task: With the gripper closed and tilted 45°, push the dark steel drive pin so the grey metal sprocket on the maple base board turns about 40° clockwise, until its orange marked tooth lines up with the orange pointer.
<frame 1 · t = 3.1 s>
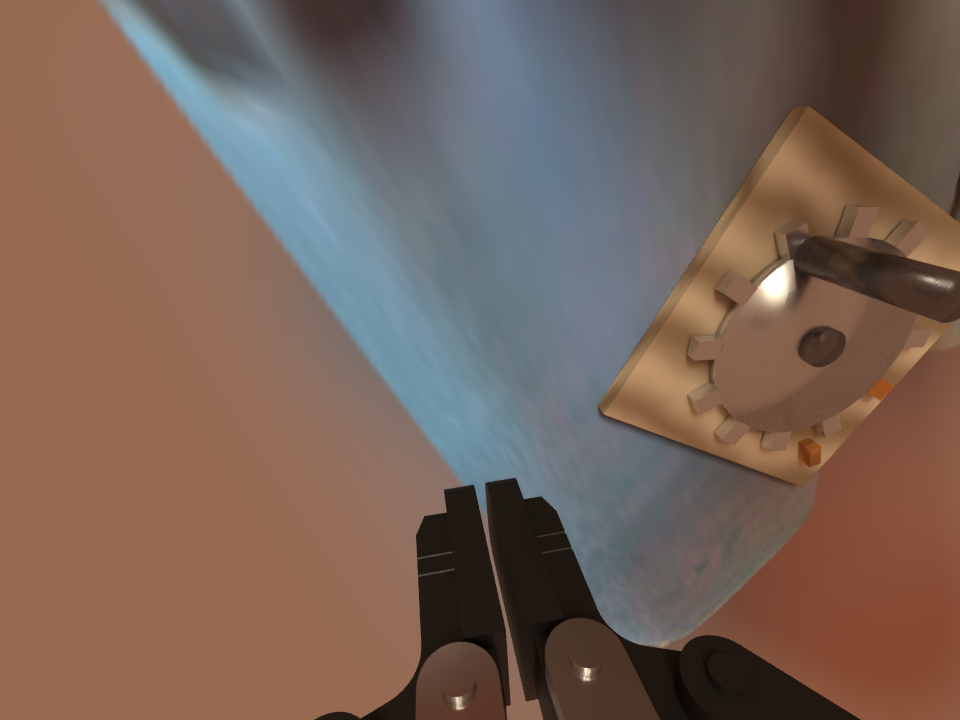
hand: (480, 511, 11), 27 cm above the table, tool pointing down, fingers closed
sprocket: (866, 369, 37), point 8 cm above the table, hinge at 0.0°
base board: (792, 331, 44), on the table
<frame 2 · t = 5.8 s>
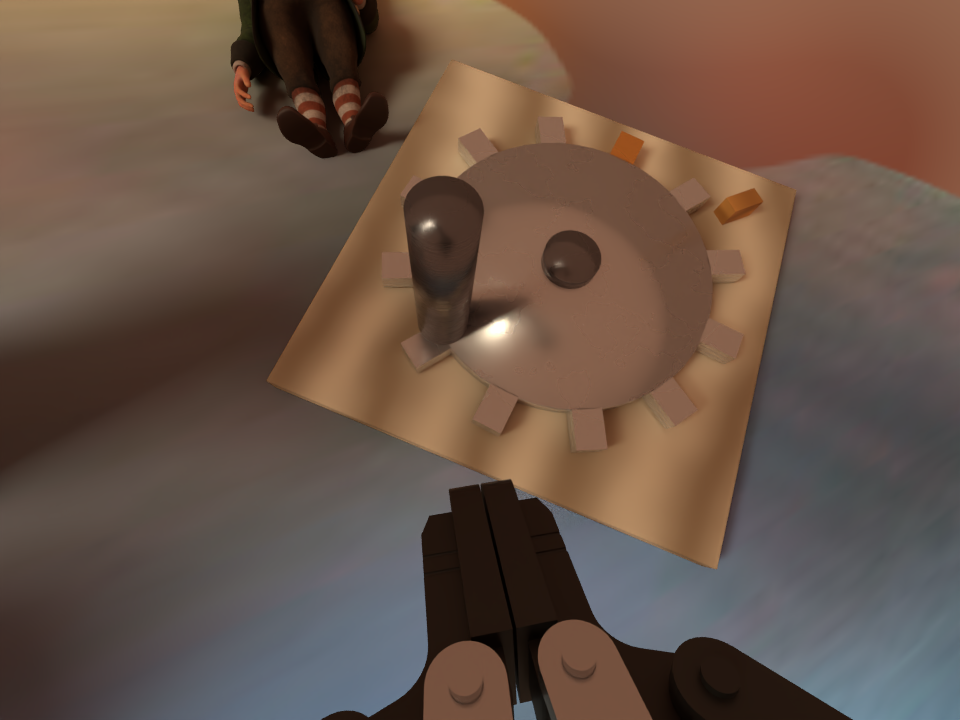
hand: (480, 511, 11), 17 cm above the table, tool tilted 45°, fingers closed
sprocket: (592, 218, 25), point 8 cm above the table, hinge at 0.0°
leprechaun: (303, 45, 38), on the table
base board: (557, 284, 32), on the table
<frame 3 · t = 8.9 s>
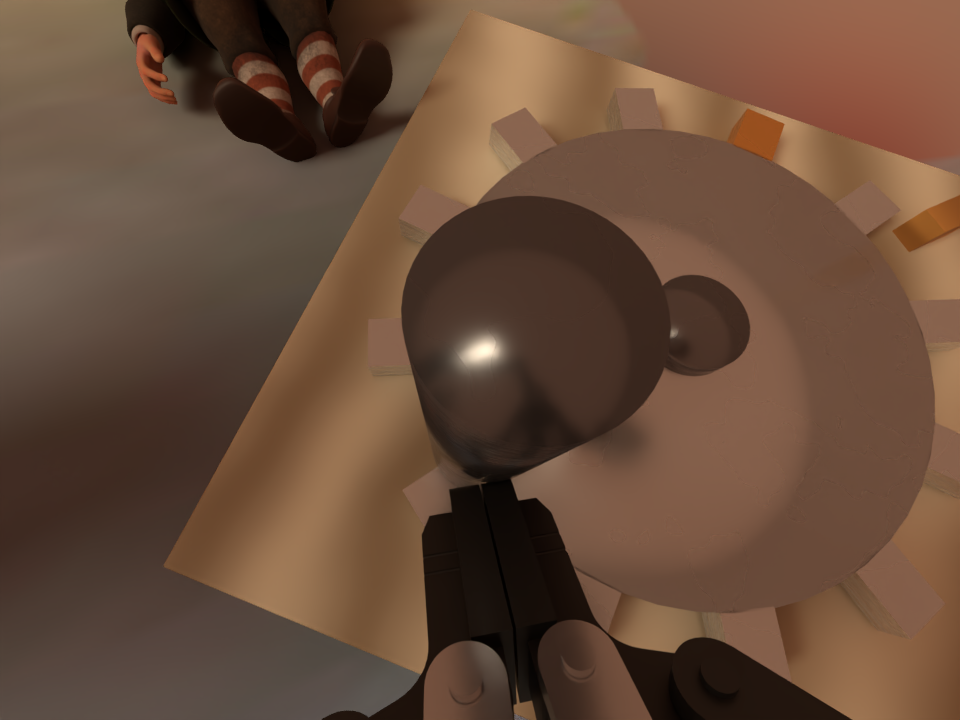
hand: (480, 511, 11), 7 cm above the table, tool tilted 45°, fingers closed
sprocket: (774, 264, 13), point 8 cm above the table, hinge at -0.6°, touching gripper
leprechaun: (238, 2, 25), on the table
base board: (654, 354, 20), on the table
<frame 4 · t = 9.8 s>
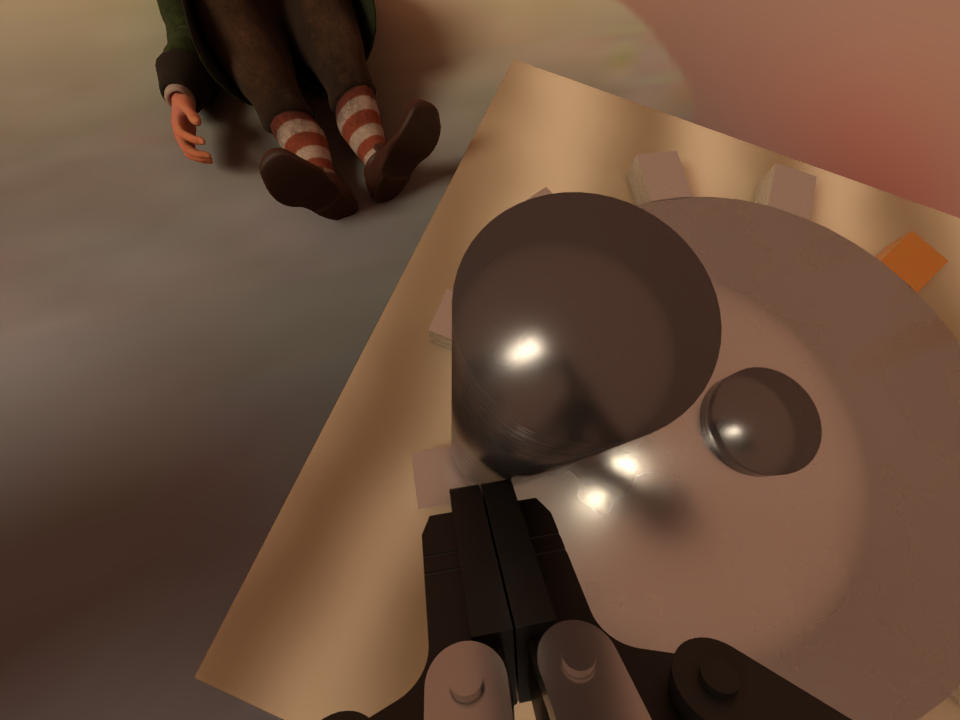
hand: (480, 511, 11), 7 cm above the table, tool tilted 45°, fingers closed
sprocket: (869, 390, 12), point 8 cm above the table, hinge at -23.6°, touching gripper
leprechaun: (266, 48, 25), on the table
base board: (706, 436, 19), on the table
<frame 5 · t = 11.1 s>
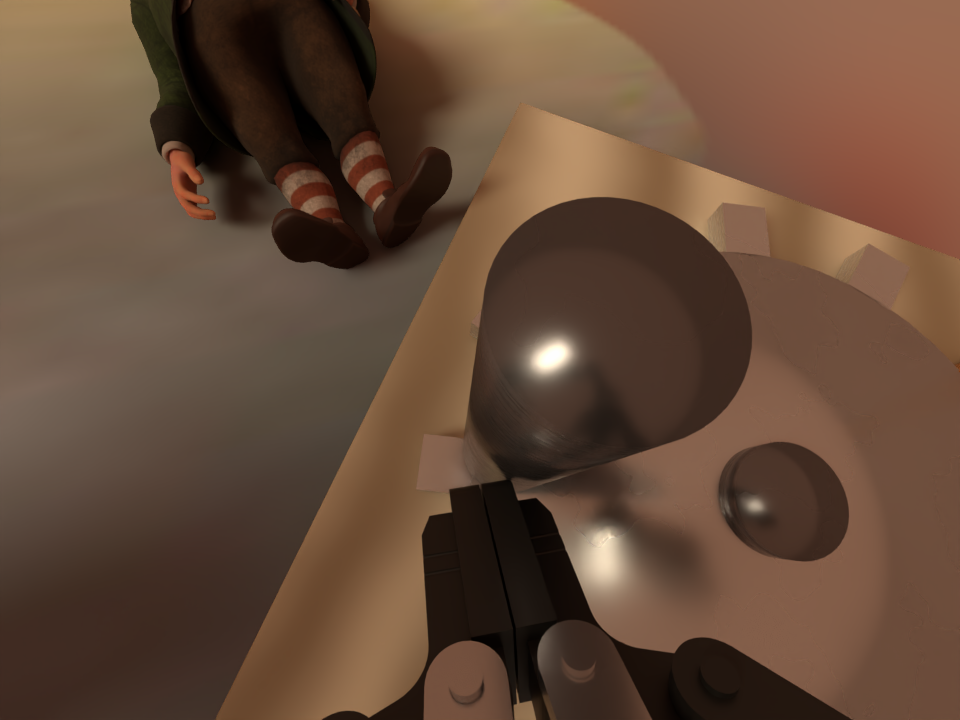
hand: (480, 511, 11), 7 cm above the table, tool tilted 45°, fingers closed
sprocket: (908, 494, 11), point 8 cm above the table, hinge at -38.9°, touching gripper
leprechaun: (260, 92, 24), on the table
base board: (723, 502, 18), on the table
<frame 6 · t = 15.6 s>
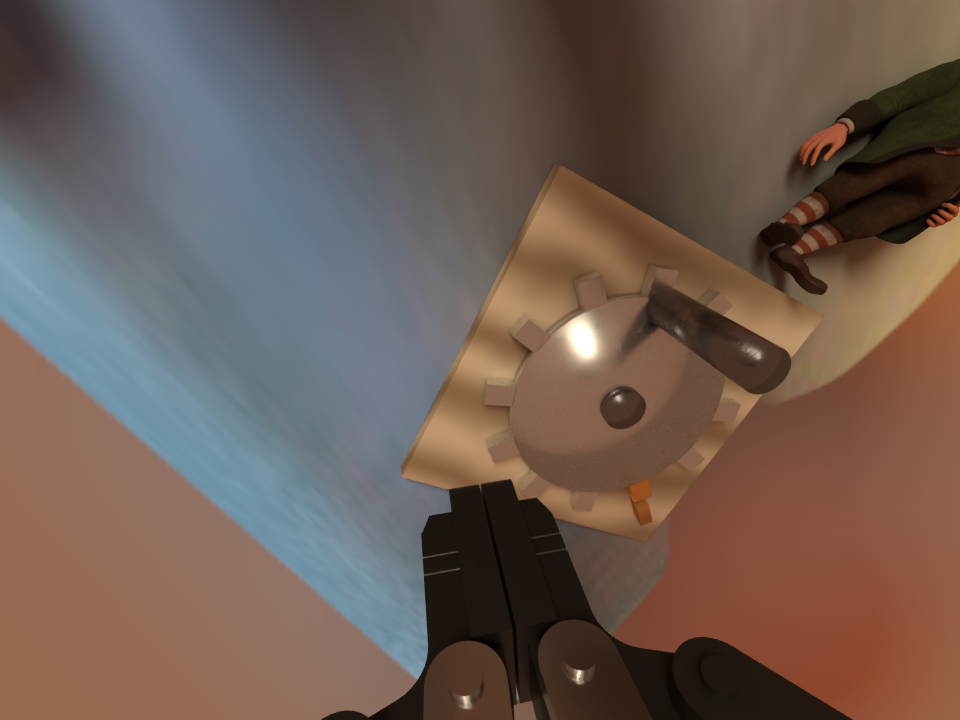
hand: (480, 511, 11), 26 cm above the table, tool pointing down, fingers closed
sprocket: (648, 438, 35), point 8 cm above the table, hinge at -39.0°
leprechaun: (886, 138, 36), on the table
base board: (606, 388, 42), on the table
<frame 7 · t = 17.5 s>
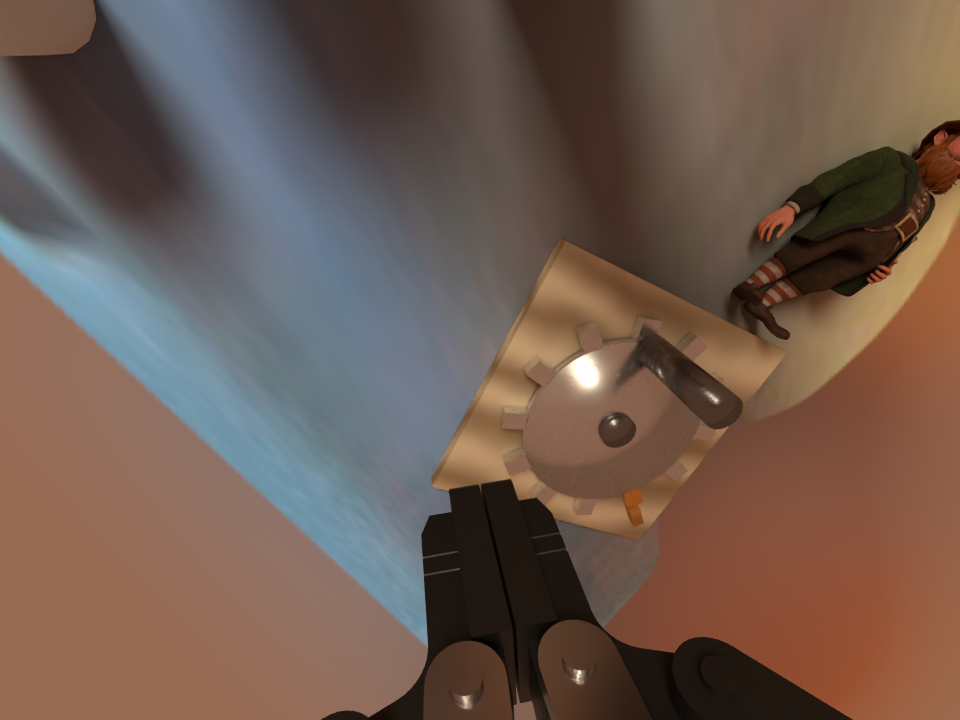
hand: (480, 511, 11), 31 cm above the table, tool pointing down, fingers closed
sprocket: (637, 457, 43), point 8 cm above the table, hinge at -39.0°
leprechaun: (834, 205, 44), on the table
base board: (603, 412, 50), on the table
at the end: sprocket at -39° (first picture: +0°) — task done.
